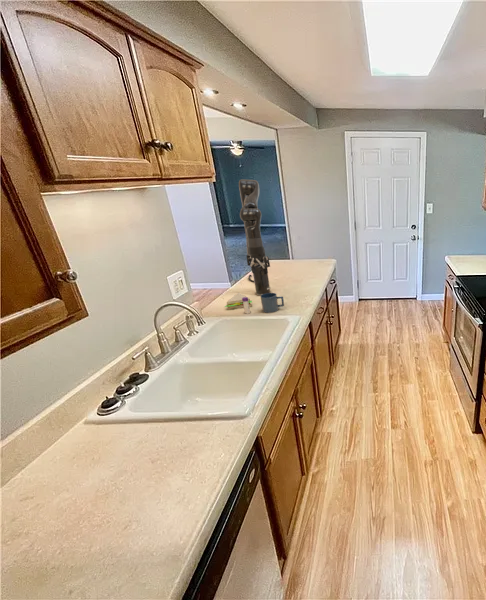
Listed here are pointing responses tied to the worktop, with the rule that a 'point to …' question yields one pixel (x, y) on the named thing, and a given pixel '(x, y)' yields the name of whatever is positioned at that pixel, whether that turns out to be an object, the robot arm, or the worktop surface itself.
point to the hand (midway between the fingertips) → (260, 273)
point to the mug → (270, 302)
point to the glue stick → (246, 305)
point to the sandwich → (237, 301)
